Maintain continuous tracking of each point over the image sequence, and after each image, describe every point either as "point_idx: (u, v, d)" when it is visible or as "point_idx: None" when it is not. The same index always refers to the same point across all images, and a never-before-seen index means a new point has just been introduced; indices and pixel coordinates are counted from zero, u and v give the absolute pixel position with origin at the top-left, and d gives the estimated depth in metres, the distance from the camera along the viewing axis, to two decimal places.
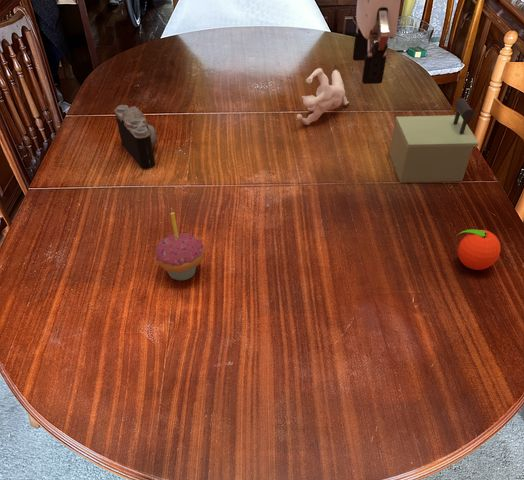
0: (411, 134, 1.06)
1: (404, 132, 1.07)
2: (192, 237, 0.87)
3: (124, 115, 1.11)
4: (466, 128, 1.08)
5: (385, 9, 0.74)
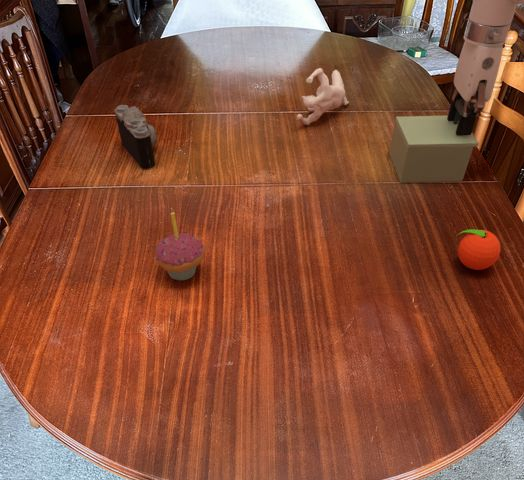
0: (411, 134, 1.06)
1: (404, 132, 1.07)
2: (192, 237, 0.87)
3: (124, 115, 1.11)
4: None
5: (484, 83, 0.96)
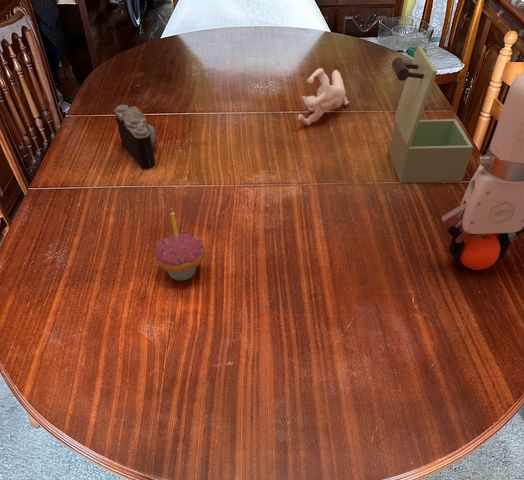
0: (404, 129, 1.05)
1: (401, 133, 1.07)
2: (192, 237, 0.87)
3: (124, 115, 1.11)
4: (423, 61, 0.97)
5: (466, 206, 0.82)
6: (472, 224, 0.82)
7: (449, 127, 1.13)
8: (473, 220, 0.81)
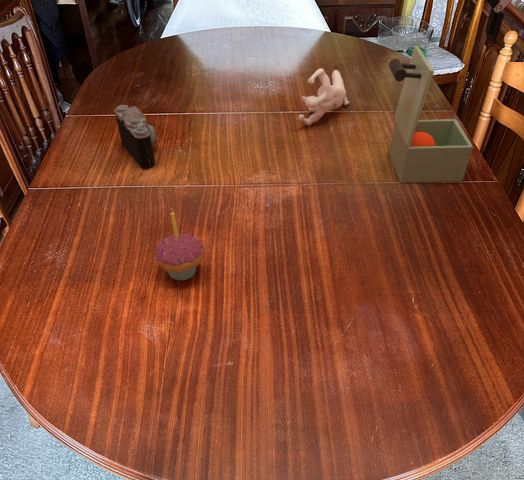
0: (404, 129, 1.05)
1: (401, 133, 1.07)
2: (192, 237, 0.87)
3: (124, 115, 1.11)
4: (420, 61, 0.97)
5: None
6: None
7: (449, 127, 1.13)
8: None
